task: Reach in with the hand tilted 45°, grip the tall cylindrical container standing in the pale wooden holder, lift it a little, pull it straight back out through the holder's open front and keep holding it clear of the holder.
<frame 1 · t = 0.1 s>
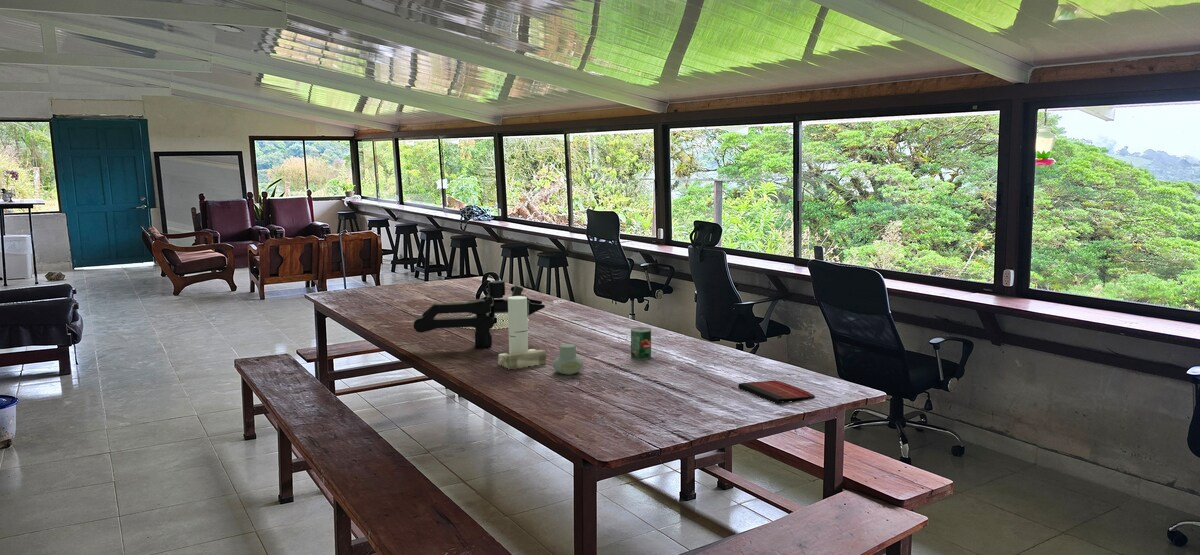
hand: (543, 304, 339), 17 cm above the table, tool horizontal, fingers open, 9 cm apart
cylindrical container: (518, 363, 310), on the table
wooden holder: (518, 362, 310), on the table
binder: (776, 394, 269), on the table
canned tomato: (641, 357, 317), on the table
air freshener: (568, 373, 296), on the table
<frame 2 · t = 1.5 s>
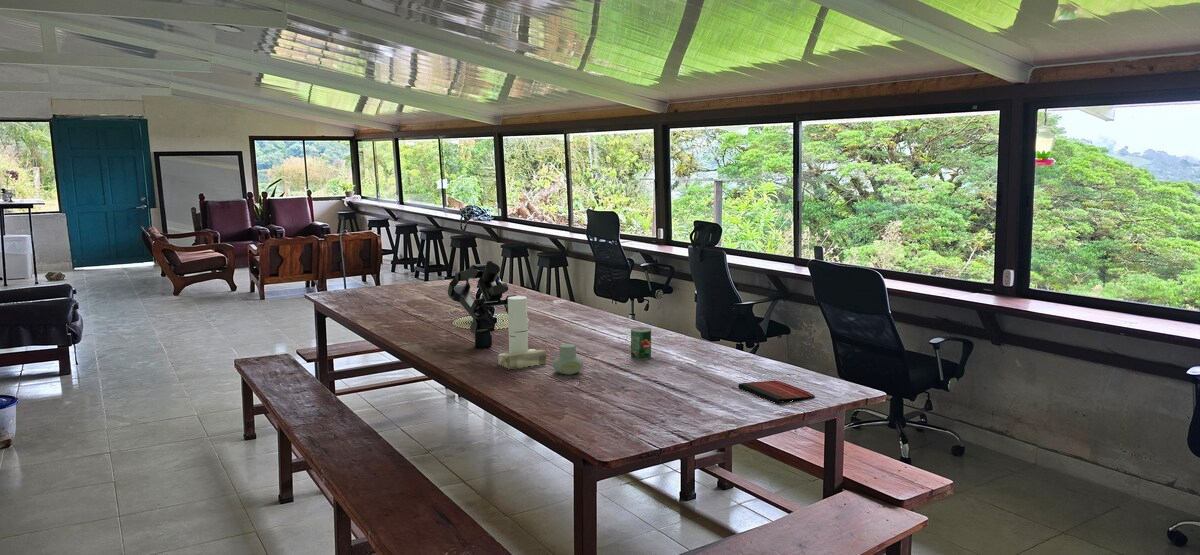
hand: (502, 320, 320), 14 cm above the table, tool tilted 45°, fingers open, 9 cm apart
nothing on the table moved.
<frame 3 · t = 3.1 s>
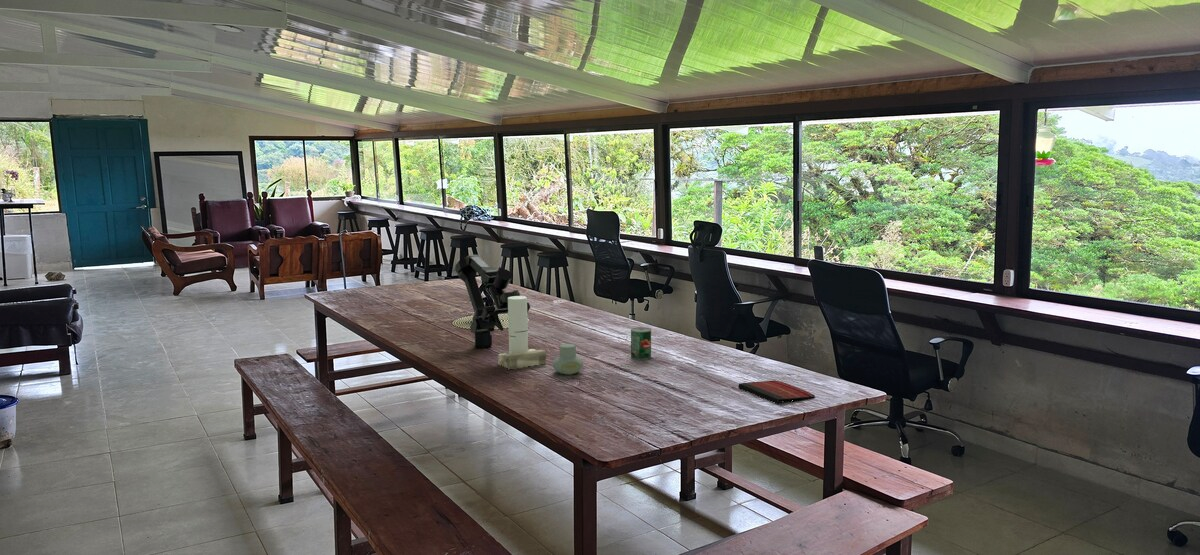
hand: (513, 328, 311), 12 cm above the table, tool tilted 45°, fingers open, 9 cm apart
nothing on the table moved.
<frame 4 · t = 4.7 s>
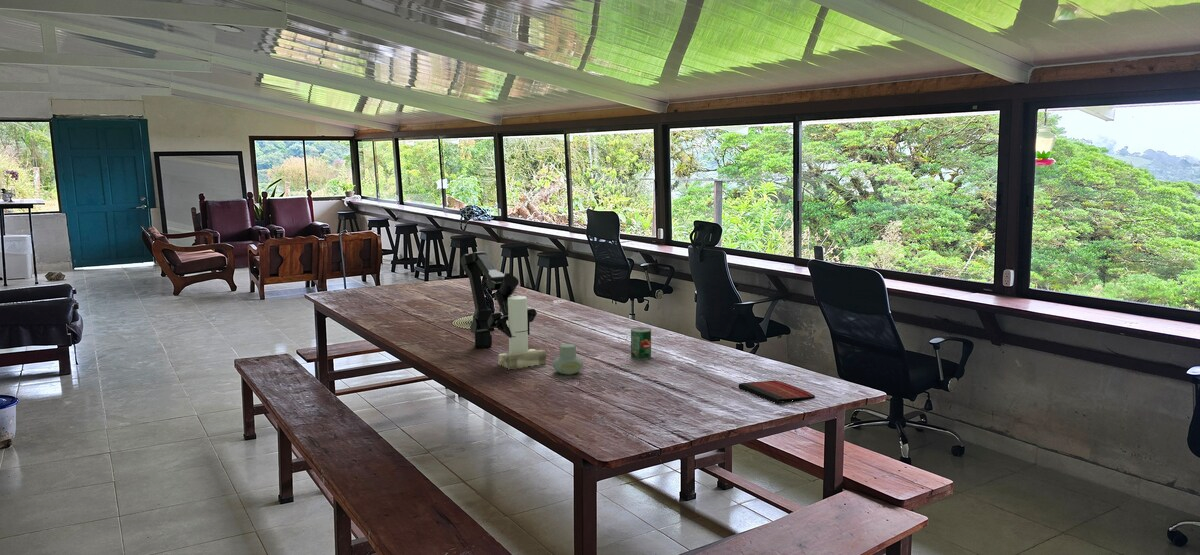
hand: (519, 336, 308), 11 cm above the table, tool tilted 45°, fingers closed on cylindrical container, 7 cm apart
cylindrical container: (518, 363, 310), on the table, touching gripper
everything else where it was.
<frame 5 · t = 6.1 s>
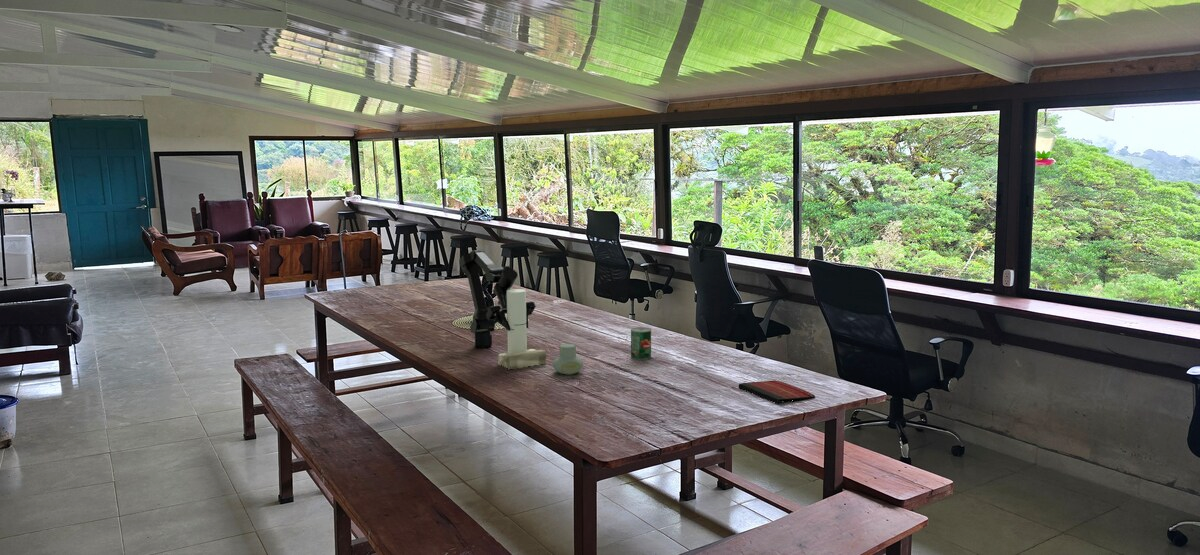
hand: (518, 328, 308), 13 cm above the table, tool tilted 45°, fingers closed on cylindrical container, 7 cm apart
cylindrical container: (517, 356, 311), point 2 cm above the table, touching gripper
everything else where it was.
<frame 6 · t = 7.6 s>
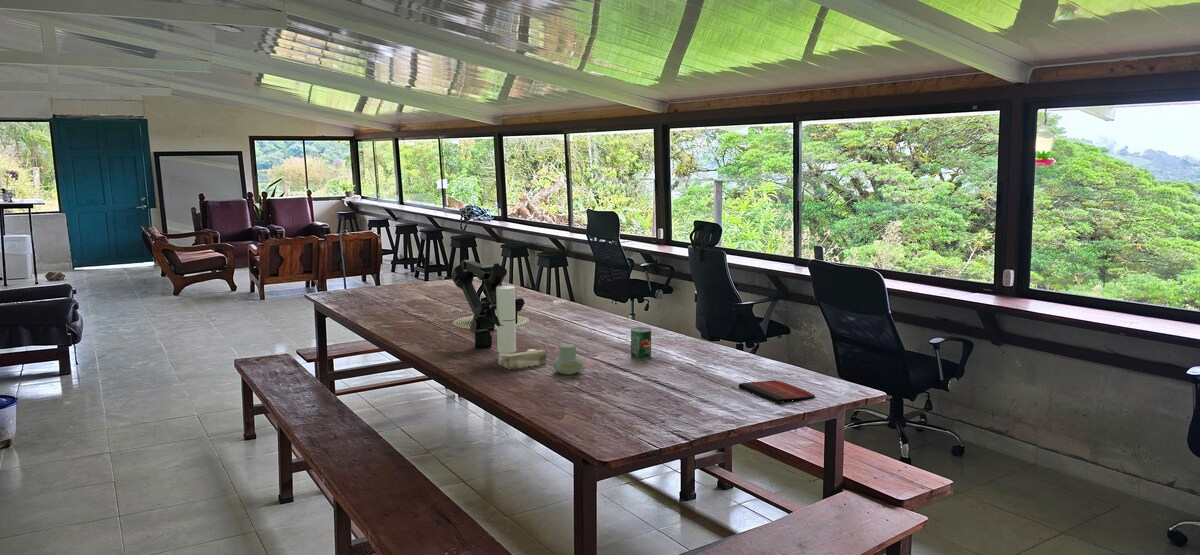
hand: (507, 324, 315), 13 cm above the table, tool tilted 45°, fingers closed on cylindrical container, 7 cm apart
cylindrical container: (506, 351, 318), point 2 cm above the table, touching gripper
everything else where it was.
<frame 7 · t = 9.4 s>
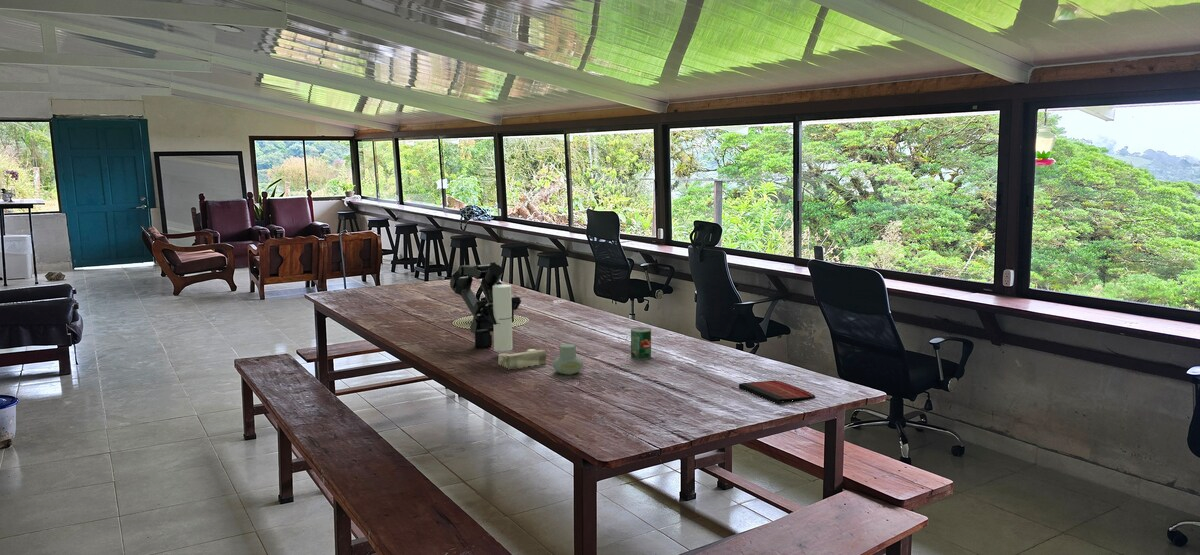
hand: (504, 323, 318), 13 cm above the table, tool tilted 45°, fingers closed on cylindrical container, 7 cm apart
cylindrical container: (503, 349, 321), point 3 cm above the table, touching gripper
everything else where it was.
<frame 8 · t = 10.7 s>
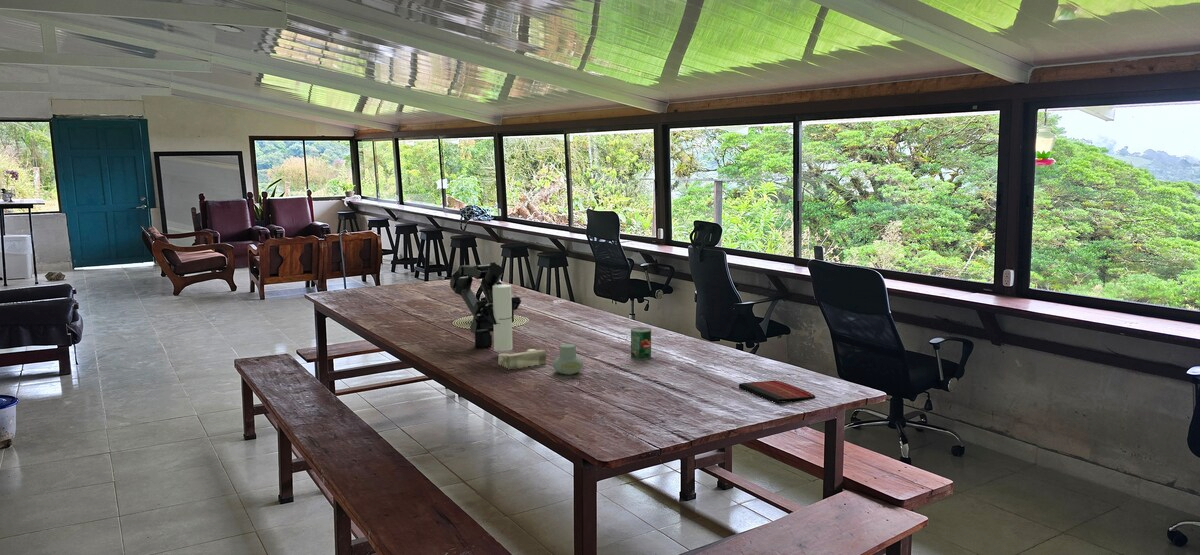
hand: (504, 323, 318), 13 cm above the table, tool tilted 45°, fingers closed on cylindrical container, 7 cm apart
cylindrical container: (503, 349, 321), point 3 cm above the table, touching gripper
everything else where it was.
at the end: cylindrical container inside the target area (0.7 cm from its centre), point 2.5 cm above the table; the gripper is holding cylindrical container; cylindrical container tilted 0° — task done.
